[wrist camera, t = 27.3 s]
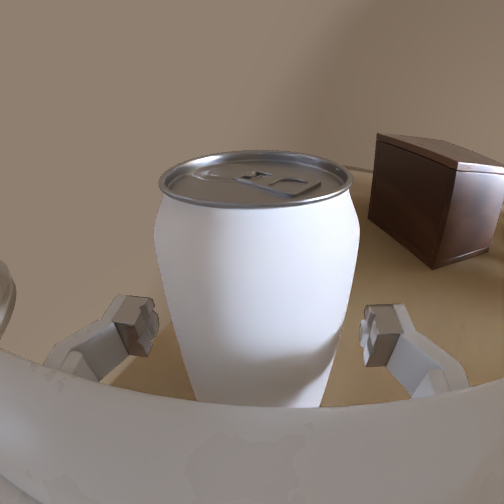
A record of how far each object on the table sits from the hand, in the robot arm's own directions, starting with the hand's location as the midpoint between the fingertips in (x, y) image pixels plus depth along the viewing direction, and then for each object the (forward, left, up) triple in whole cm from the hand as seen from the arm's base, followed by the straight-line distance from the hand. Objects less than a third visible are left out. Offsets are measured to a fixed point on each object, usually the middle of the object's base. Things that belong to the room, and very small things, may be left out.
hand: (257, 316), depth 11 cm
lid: (-4, +28, +3) cm, 29 cm away
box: (-4, +28, -7) cm, 29 cm away
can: (0, 0, -7) cm, 7 cm away
